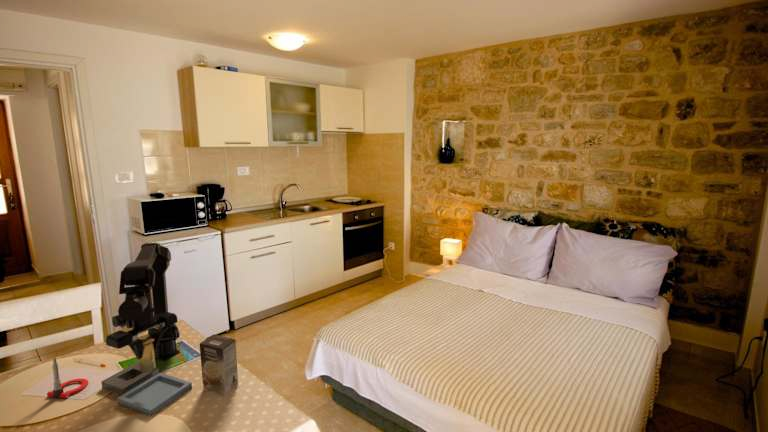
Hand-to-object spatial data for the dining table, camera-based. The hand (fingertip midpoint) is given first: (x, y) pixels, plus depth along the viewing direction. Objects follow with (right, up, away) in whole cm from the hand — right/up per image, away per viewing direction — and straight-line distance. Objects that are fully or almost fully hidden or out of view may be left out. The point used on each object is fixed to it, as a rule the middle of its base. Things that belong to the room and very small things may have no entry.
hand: (146, 354), depth 116 cm
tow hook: (-27, -13, +5) cm, 30 cm away
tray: (+2, -13, +2) cm, 14 cm away
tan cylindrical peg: (0, -4, +1) cm, 4 cm away
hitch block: (-10, -12, +9) cm, 18 cm away
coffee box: (+20, -13, +6) cm, 24 cm away
